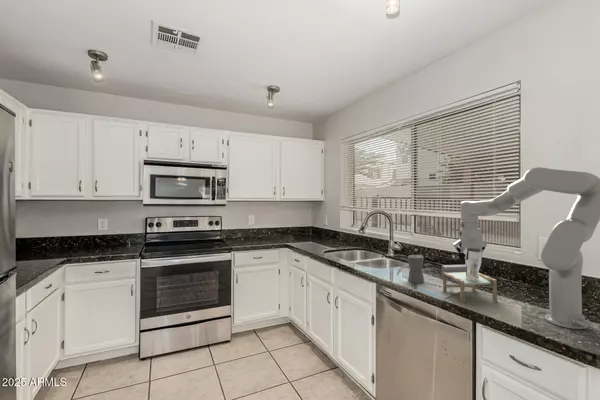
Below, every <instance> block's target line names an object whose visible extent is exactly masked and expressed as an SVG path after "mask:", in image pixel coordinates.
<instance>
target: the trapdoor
mask: <svg viewBox="0 0 600 400" xmlns="http://www.w3.org/2000/svg"><path fill="white" fill-rule="evenodd" d="M440 271H441V275H442V276H443V272H446V273H449V274H451V275H453V276H455V277H457V278H459V279H461V280H463V281H464V285H476V286H479V285H482V286H485V285H492V281H490V280H488V279H485V278H483V277H481V276H479V280H478V281H470V280H467V279H466V278H465V275H466V264H444V265H441V270H440ZM456 282H457V283H458V284H460V282H458V281H456Z"/></svg>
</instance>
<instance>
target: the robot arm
mask: <svg viewBox="0 0 600 400" xmlns="http://www.w3.org/2000/svg"><path fill="white" fill-rule="evenodd" d="M543 191H547V192H555V193H561V194H568V195H577V198H576V200H575V202H574V203H573V205H572V207H571V209H570V211H569V212H568V215H567V217H566V218H565V219H563V220H561V221H559V222H558V223H556V224H555V225H554V226H553V228H552V229H551V231H550V232H549V235H548V237H547V239H546V241H545V243H544V246H543V248H542V250H541V252H540V260H541V262H542V264H543V265H544V266H545V267H546V268H547V269H548V271H549V272H548V288H549V289H548V291H549V293H548V294H549V297H548V298H549V300H548V301H549V313H546V314H544V319H545V320H546V321H547V322H549V324H552V325H554V326H555V325H556V326H557V327H561V328H567V329H571V330H572V329H574V330H584V329H585V330H586V329H588V328H589V327H590V326H592V322H590V321H588V320H586V319H585V317H586V315H584V314H583V307H582V306H583V301H582V299H583V298H582V297H583V296H582V286H583V285H582V281H583V280H582V274H583V265H584V263H583V261H584V259H583V258H584V256H583V254H582V251H581V247H582V246H583V244H584V243H586V242H588V241H590V240H591V238H592V237H593V234H594V233H595V230H596V229H597V225H598V224H599V222H600V177H599V176H597V175H595V174H593V173H591V172H588V171H587V172H586V171H576V170H575V171H574V170H563V169H553V168H552V169H551V168H547V167H537V166H536V167H533V168H530V169H529V170H527V171H526V172H525V174H524V175H523V177H522V178H520V179H518V180H516V181H514V182H512V183H511V184H509V185H507V186H506V190H505V191H504V192H502V193H501V194H499V195H497V196H496V197H494V198H492V199H490V200H479V201H478V200H477V201H475V200H463V201H461V202H460V223H458V226H459V227H460V228H459V231H458V240H457V241H456V242H454V243H453V244H452V246H453V247H454V249H455V250H456V251H457V253H458V260H459V261H461V262H462V261H463V262H465V253H464V252H465V250H466V249H479V250H481V251H482V253H483V252H484V251H485V249H486V248H487V246H488V242H486V241H484V240H483V234H482V231H481V228H479V217H490V216H497V215H498V214H501V213H503V212H504V211H505V212H506V211H507V210H509V209H511V208H513V207H515V206H517V204H520V203H521V202H523V201H525V200H528V199H529V198H531V197H533V196H536V195H538V194H540V193H541V192H543Z"/></svg>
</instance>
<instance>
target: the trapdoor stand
mask: <svg viewBox="0 0 600 400" xmlns="http://www.w3.org/2000/svg"><path fill="white" fill-rule="evenodd" d="M478 275H479V276H481V277H483V278H484V279H486V280H488V281H490V282H491V285H492V301H493V302H495V303H496V302H498V291H497V289H498V288H497V286H498V285H497V281H498V280H497V279H496V278H494V277H491V276H489V275H485V274H482V273H480V272H479V273H478ZM447 278H449V279H453V280H454V281H456V282H457V281H458V282H457V284H455V283H454V284H453V283H452V284H447ZM459 282H460V283H459ZM476 286H477V285H464V281H463V280H461V279H459V278H457V277H455V276H453V275H451V274H449V273H446V272H443V275H442V291H443V292H444V293H447V289H448V288H449V289H450V288H460V289H459V290H460V303H462V304H464V303H465V288H469V287H470V288H471V291H473V292H476V290H477V287H476Z"/></svg>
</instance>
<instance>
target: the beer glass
mask: <svg viewBox="0 0 600 400" xmlns="http://www.w3.org/2000/svg"><path fill="white" fill-rule="evenodd" d="M465 250H466V251H465V255H464V262H465V265H466V275H465V278H466V279H467V280H470V281H478V280H479V275H478V273H480V272H479V271H480V268H481V265H482V260H483V259H482V258H483V252H482V251H481V250H479V249H465Z"/></svg>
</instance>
